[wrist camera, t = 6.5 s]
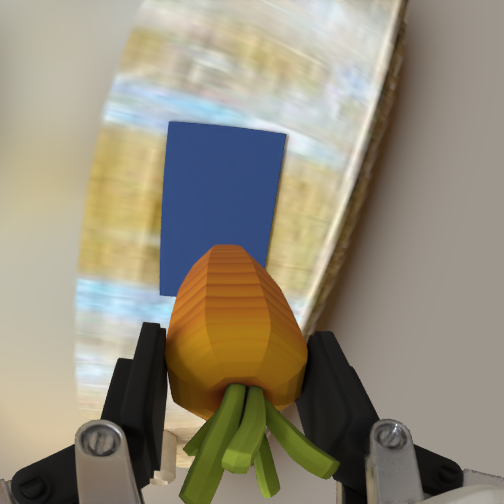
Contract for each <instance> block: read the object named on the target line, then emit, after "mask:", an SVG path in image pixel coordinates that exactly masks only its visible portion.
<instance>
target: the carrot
mask: <svg viewBox="0 0 504 504" xmlns="http://www.w3.org/2000/svg"><path fill="white" fill-rule="evenodd" d="M307 355H308V350H307V345H306V342H305V340H304V337H303V335H302V333H301V330H300V328H299V326H298V324H297V321H296V319H295V317H294V315H293V312H292V310H291V308H290V306H289V304H288V302H287V300H286V298H285V296H284V295H283V293H282V291H281V289H280V287H279V286H278V285H277V284H276V282H275V281H274V280H273V279H272V277H271V276H270V275H269V274H268V273H267V271H266V270H265V269H264V268H263V267H262V266H261V265H260V264H259V263H258V262H257V261H256V260H255V259H254V258H253V257H252V256H251V255H250V254H249V253H248V252H247V251H245V250H244V249H243V248H242V247H241V246H239V245H235V244H233V245H215V246H213V247H212V248H211V249H210V250H209V251H208V252H207V253H206V254H204V255H203V256H202V257H201V258H200V259H199V260H198V261H197V262H196V263H195V264H194V265H193V267H192V268H191V270H190V271H189V273H188V274H187V276H186V277H185V279H184V281H183V283H182V285H181V287H180V288H179V290H178V294H177V297H176V301H175V304H174V308H173V311H172V315H171V320H170V324H169V329H168V333H167V338H166V347H165V360H166V366H167V372H168V378H169V384H170V389H171V395H172V398H173V401H174V402H175V403H176V404H178V405H179V406H181V407H182V408H184V409H186V410H188V411H190V412H191V413H193V414H195V415H197V416H199V417H201V418H202V419H204V420H206V423H205V424H204V425H203V426H202V427H201V428H200V429H199V431H198V432H197V433H196V434H195V435H194V436H193V438H192V439H191V440H190V441H189V442H188V443H187V445H186V446H185V447H184V448H183V450H184V451H185V452H186V453H187V454H188V456H196V457H195V459H194V461H193V463H192V465H191V467H190V469H189V471H188V474H187V476H186V479H185V481H184V484H183V486H182V489H181V491H180V494H179V497H180V498H181V499H182V501H183V502H184V503H185V504H210V503H211V501H212V499H213V497H214V494H215V492H216V490H217V487H218V485H219V483H220V480H221V478H222V475H223V472H224V469H225V470H227V471H229V472H231V473H238V474H239V473H240V474H246V473H247V471H248V469H249V467H250V465H251V463H252V461H253V460H254V466H255V471H256V477H257V481H258V485H259V488H260V490H261V493H262V495H263V497H266V498H270V497H272V496H274V495H275V494H277V492H278V491H279V490H280V485H279V480H278V476H277V473H276V470H275V465H274V461H273V458H272V454H271V450H270V447H269V443H268V440H267V437H266V435H265V428H266V426H267V427H268V429H269V430H270V432H271V433H272V434H273V435H274V437H275V438H276V439H277V441H278V442H279V443H280V444H281V446H282V447H283V448H284V449H285V451H286V452H287V453H288V454H289V455H290V457H291V458H292V459H293V460H294V461H295V462H297V463H298V464H299V465H301V466H302V467H303V468H305V469H306V470H307V471H308V472H310V473H312V474H314V475H316V476H318V477H320V478H323V479H329V478H330V477H331V476H332V475H333V474H334V473H335V472H336V471H337V469H338V467H339V465H340V462H338V461H337V460H335V459H334V458H333V457H331V456H330V455H328V454H327V453H325V452H324V451H322V450H321V449H319V448H318V447H317V446H315V445H314V444H313V443H312V442H311V441H310V440H309V439H308V438H307V437H305V436H304V435H303V434H302V433H301V432H300V431H299V430H298V429H297V428H296V427H295V426H294V425H293V424H292V423H291V422H290V421H288V420H287V419H286V418H285V417H284V416H283V415H282V414H281V413H280V411H281V410H283V409H284V408H286V407H287V406H289V405H291V404H292V403H294V402H295V401H296V400H297V399H298V398H299V397H300V393H301V388H302V384H303V379H304V374H305V369H306V364H307Z"/></svg>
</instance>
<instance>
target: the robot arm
mask: <svg viewBox="0 0 504 504" xmlns="http://www.w3.org/2000/svg"><path fill="white" fill-rule="evenodd" d="M165 347H166V328H160V323H149V322H143V325H142V328H141V332H140V336H139V339H138V343H137V347H136V351H135V354H134V358H133V359H125V358H119V359H118V360H117V363H116V366H115V369H114V373H113V376H112V379H111V383H110V386H109V390H108V393H107V397H106V400H105V404H104V408H103V411H102V415H101V419H100V420H99V419H98V420H92V421H89V422H87V423H85V424H83V425H82V426H81V427H80V428H79V429H78V431H77V433H76V435H75V444H73V445H71V446H69V447H67V448H65V449H63V450H61V451H59V452H57V453H55V454H53V455H51V456H49V457H47V458H45V459H42V460H40V461H38V462H36V463H33V464H31V465H29V466H27V467H25V468H22V469H21V470H19V471H17V472H16V474H15V475H14V476H13V478H12V480H9V481H5V480H4V479H0V504H145V502H144V498H143V494H142V488H143V487H145V486H146V485H148V484H150V479H154V471H160V470H161V457H162V444H163V431H164V420H165V410H166V400H167V388H168V382H167V366H166V360H165ZM307 350H308V355H307V364H306V369H305V374H304V379H303V384H302V388H301V393H300V397H299V398H298V399H297V400H296V401H295V402H296V406H297V409H298V412H299V416H300V420H301V423H302V427H303V430H304V434H305V437H307V438H308V439H309V440H310V441H311V442H312V443H313V444H314V445H315V446H317V447H318V448H319V449H321V450H322V451H324V452H325V453H327V454H328V455H330V456H331V457H333V458H334V459H335V460H337V461H338V462H340V465H339V467H338V469H337V471H336V472H335V473H334V474H333V475H332V476H333V479H334V480H336V481H337V482H336V504H504V478H503V477H500V476H495V475H491V474H486V473H482V472H477V471H473V470H469V469H464V470H463V471H462V470H461V468H460V466H459V465H458V464H457V463H456V462H454V461H452V460H450V459H448V458H445V457H443V456H440V455H438V454H436V453H433V452H431V451H429V450H426V449H424V448H422V447H419V446H417V445H415V444H413V440H412V436H411V434H410V431H409V430H408V428H407V427H406V426H405V425H403V424H402V423H401V422H399V421H396V420H392V419H382V420H380V419H379V417H378V415H377V413H376V411H375V409H374V407H373V405H372V403H371V401H370V399H369V397H368V395H367V393H366V391H365V389H364V387H363V385H362V383H361V381H360V379H359V377H358V375H357V373H356V372H355V370H354V368H353V367H352V366H350V365H349V363H348V361H347V359H346V357H345V355H344V353H343V352H342V349H341V347H340V345H339V343H338V342H337V340H336V338H335V336H334V334H333V333H332V332H331V331H316V332H315V333H314V335H311V336H310V337H309V339H308V343H307Z"/></svg>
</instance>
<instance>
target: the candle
mask: <svg viewBox="0 0 504 504" xmlns="http://www.w3.org/2000/svg"><path fill="white" fill-rule="evenodd" d="M176 450H177V439H176V436H175V435H173V434H172V433H170V432H167V431H163V444H162V457H161V470H160V471H154V479H150V482H151V483H152V484H154V485H158V486H161V485H168V484H169V483H171V482H172V481H173V480H174V479H175V477H176Z"/></svg>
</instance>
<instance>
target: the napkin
mask: <svg viewBox="0 0 504 504" xmlns="http://www.w3.org/2000/svg"><path fill="white" fill-rule="evenodd" d="M285 137H286V134H282V133H276V132H269V131H262V130H254V129H246V128H238V127H229V126H220V125H209V124H198V123H185V122H169V125H168V135H167V145H166V156H165V169H164V182H163V198H162V217H161V244H160V295H163V296H175V297H177V294H178V290H179V288H180V287H181V285H182V283H183V281H184V279H185V277H186V276H187V274H188V273H189V271H190V270H191V268H192V267H193V265H194V264H195V263H196V262H197V261H198V260H199V259H200V258H201V257H202V256H203V255H204V254H206V253H207V252H208V251H209V250H210V249H211V248H212V247H213V246H215V245H233V244H235V245H239V246H241V247H242V248H243V249H244V250H245V251H247V252H248V253H249V254H250V255H251V256H252V257H253V258H254V259H255V260H256V261H257V262H258V263H259V264H260V265H261V266H262V267H263V268H264V267H265V261H266V255H267V249H268V243H269V237H270V231H271V225H272V219H273V213H274V207H275V201H276V194H277V188H278V182H279V176H280V169H281V163H282V157H283V150H284V144H285Z"/></svg>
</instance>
